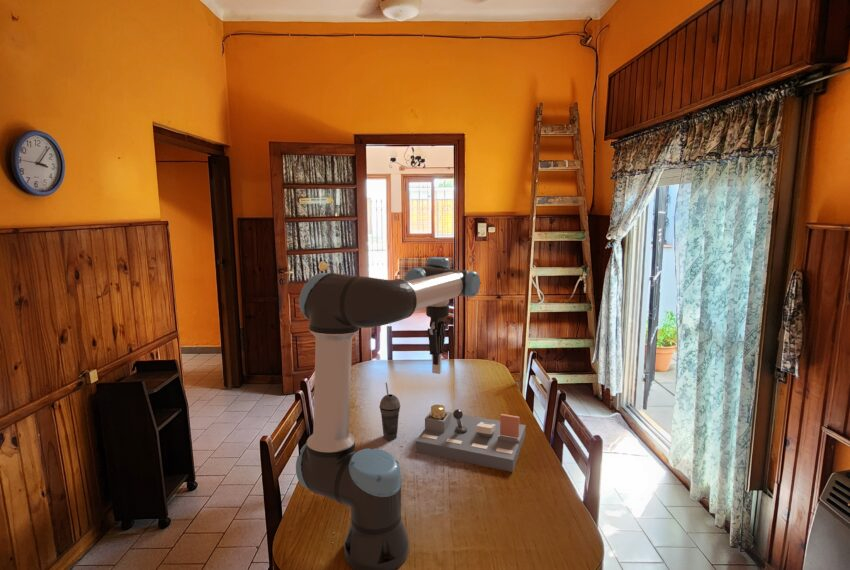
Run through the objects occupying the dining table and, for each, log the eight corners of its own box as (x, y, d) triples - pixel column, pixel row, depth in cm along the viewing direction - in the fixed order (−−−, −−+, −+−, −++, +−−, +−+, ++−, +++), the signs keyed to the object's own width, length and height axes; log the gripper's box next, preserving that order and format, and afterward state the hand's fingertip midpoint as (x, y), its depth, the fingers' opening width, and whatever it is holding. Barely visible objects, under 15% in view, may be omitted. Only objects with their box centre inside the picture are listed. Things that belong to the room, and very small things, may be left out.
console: (512, 472, 142) (513, 447, 141) (415, 452, 153) (415, 429, 152) (525, 435, 164) (526, 414, 163) (439, 420, 175) (439, 400, 174)
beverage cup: (397, 443, 159) (397, 387, 155) (377, 441, 160) (376, 386, 157) (402, 433, 166) (402, 379, 162) (383, 431, 167) (382, 378, 164)
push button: (442, 427, 159) (442, 411, 158) (428, 425, 161) (429, 409, 160) (446, 421, 164) (446, 405, 163) (433, 419, 165) (433, 403, 164)
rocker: (490, 434, 152) (491, 427, 152) (475, 431, 154) (476, 425, 154) (495, 430, 158) (495, 423, 159) (480, 427, 160) (481, 421, 160)
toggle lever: (464, 431, 157) (460, 416, 152) (455, 429, 158) (451, 414, 153) (466, 423, 159) (463, 408, 154) (457, 421, 160) (453, 406, 155)
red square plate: (518, 438, 152) (519, 418, 151) (500, 434, 154) (500, 415, 153) (518, 436, 153) (519, 416, 152) (500, 433, 155) (501, 413, 154)
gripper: (442, 309, 146) (441, 380, 150) (454, 301, 158) (453, 368, 162) (419, 307, 148) (419, 377, 152) (433, 299, 160) (432, 365, 164)
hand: (436, 372), depth 157 cm, fingers closed
